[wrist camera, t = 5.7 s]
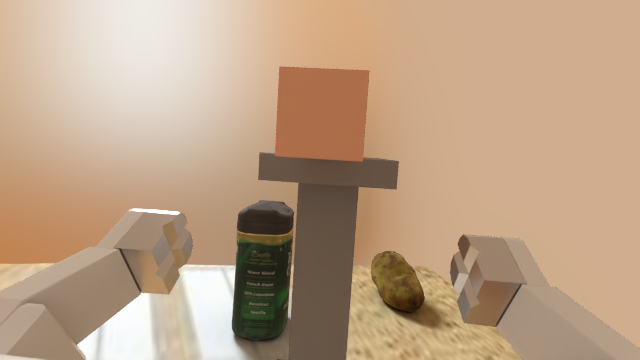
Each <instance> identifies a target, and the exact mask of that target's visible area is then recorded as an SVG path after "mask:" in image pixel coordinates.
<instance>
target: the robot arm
mask: <svg viewBox="0 0 640 360" xmlns="http://www.w3.org/2000/svg"><path fill="white" fill-rule="evenodd" d="M186 224H187V219H186V216H185V214H183V213H179V212H171V211H161V210H151V209H150V210H147V209H138V208H133V209H131V210H128V212H127V213H126V214H125V215H124V216H123V217H122V218H121V219H120V220H119V222H118V223H117V224H116V225H115V226H114V227H113V228H112V229H111V230H110V231H109V233H108V234H107V235H106V236H105V237H104V238H103V239H102V240H101V241H100V242H99V243H98V245H97V246H96V247H88V248H86V249H84V250H82V251H80V252H78V253H76V254H74V255H72V256H70V257H68V258H66V259H64V260H62V261H60V262H58V263H56V264H54V265H52V266H50V267H48V268H46V269H44V270H42V271H40V272H38V273H36V274H34V275H32V276H30V277H28V278H26V279H24V280H22V281H20V282H18V283H16V284H14V285H12V286H10V287H8V288H6V289H4V290H2V291H0V360H86V357H85V355H84V354H83V353H82V351H81V350H80V349H79V348H78V346H77V344H78V343H80V342H81V341H82V340H83V339H85V338H86V337H87V336H88V335H90V334H91V333H92V332H93V331H95V330H96V329H97V328H98V327H100V326H101V325H102V324H104V323H105V322H106V321H107V320H109V319H110V318H111V317H112V316H114V315H115V314H116V313H117V312H119V311H120V310H121V309H122V308H124V307H125V306H126V305H128V304H129V303H130V302H131V301H133V300H134V299H135V298H136V297H138V296H139V295H140V294H141V293H156V294H170V292H171V290H172V288H173V287H174V285H175V283H176V281H177V279H178V278H179V276H180V275H179V271H178V269H179V268H180V267H182V266H183V265H185V264H186V263H187V261H188V259H189V257H190V256H191V251H192V247H193V244H192V243H193V241H192V236H191V233H190V232H189V231H188V230H187V229H185V228H184V227H185V226H186ZM458 247H459V250H460V251H459V252H457V253H456V254H455V255H454V256H453V258H452V262H451V270H450V274H451V280H452V284H453V288H454V289H455V290H457V291H458V292H459V293H460V296H459V298H458V301H457V302H458V305H459V309H460V312H461V315H462V319H463V322H464V323H468V324H476V325H484V326H492V327H496V329H497V330H498V332H499V333H500V334H501V335H502V336H503V337H504V338H505V340H506V341H507V342H508V343H509V344H510V345H511V346H512V348H513V349H514V350H515V351H516V352H517V353H518V354H519V356H520V357H521V358H522V359H523V360H640V348H638V347H637V346H636V345H634V344H633V343H631V342H630V341H629V340H627V339H626V338H625V337H623V336H622V335H621V334H619V333H618V332H616V331H615V330H614V329H612V328H611V327H610V326H608V325H607V324H605V323H604V322H603V321H601V320H600V319H599V318H597V317H596V316H595V315H593V314H592V313H590V312H589V311H588V310H587V309H585V308H584V307H582V306H581V305H580V304H578V303H577V302H575V301H574V300H573V299H571V298H570V297H569V296H567V295H566V294H565V293H563V292H562V291H561V290H559V289H558V288H557V287H550V286H549V284H548V282H547V280H546V279H545V277H544V275H543V273H542V272H541V270H540V268H539V267H538V265H537V263H536V262H535V260H534V258H533V257H532V255H531V253H530V251H529V250H528V248H527V246H526V245H525V243H524V241H522V240H521V239H520V238H509V237H492V236H476V235H462V236H461V238H460V239H459V242H458ZM140 292H141V293H140Z"/></svg>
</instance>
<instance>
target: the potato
mask: <svg viewBox="0 0 640 360" xmlns="http://www.w3.org/2000/svg"><path fill="white" fill-rule="evenodd" d="M371 274H372V279H373V281H374V283H375V284H376V286H377V288H378V292H379V295H380V296H381V298H382V299H383V300H384V301H385V302H386V303H387V304H389V305H390V306H392V307H394V308H396V309H399V310H403V311H407V312H411V311H416V310H418V309H420V308H421V306H422V304H423V302H424V298H425V297H424V292H423V289H422V287H421V284H420V282H419V280H418V278H417V276H416V274H415V271H414V270H413V268H412V267H411V266H410V265H409V264H408V263H407V262H406V261H405V259H404V258H403V257H402V256H401V255H400V254H398V253H396V252H392V251H386V252H383V253H379V254H377V255H376V256H375V257H374V259H373V261H372V265H371Z"/></svg>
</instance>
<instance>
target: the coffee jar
mask: <svg viewBox="0 0 640 360" xmlns="http://www.w3.org/2000/svg"><path fill="white" fill-rule="evenodd" d="M293 215H294V212H293V210H292V209H291V208H290V207H288V206H287V205H285V203H284V202H277V201H264V200H262V201H259V202H258V203H255V204H253V205H250V206H248V207H246V208H245V209H243V210H242V211H240V212H239V214H238V223H237V253H236V271H235V288H234V302H233V316H232V330H233V332H234V333H235V334H237V335H238V336H241V337H244V338H246V339H250V340H264V339H269V338H274V337H278V336H279V335H280V334H281V333H282V331H283V330H284V328H285V325H286V322H287V317H288V302H289V287H290V274H291V260H292V242H293V220H294V219H293Z"/></svg>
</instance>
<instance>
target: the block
mask: <svg viewBox="0 0 640 360" xmlns="http://www.w3.org/2000/svg"><path fill="white" fill-rule="evenodd" d="M368 83H369V71H366V70H343V69H342V70H341V69H320V68H299V67H296V68H295V67H280V68H279V86H278V87H279V88H278V106H277V126H276V127H277V129H276V147H275V156H281V157H297V158H312V159H328V160H343V161H359V162H363V150H364V137H365V124H366V110H367V96H368Z"/></svg>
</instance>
